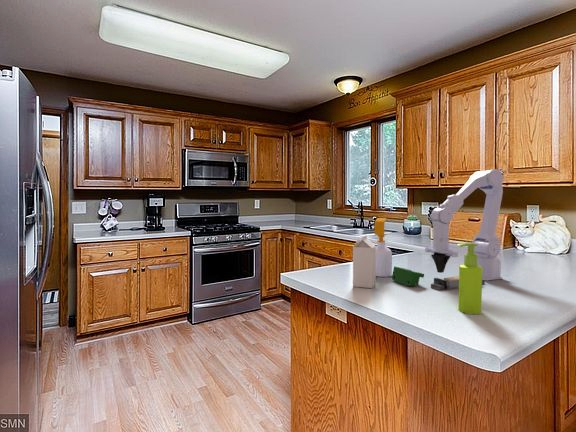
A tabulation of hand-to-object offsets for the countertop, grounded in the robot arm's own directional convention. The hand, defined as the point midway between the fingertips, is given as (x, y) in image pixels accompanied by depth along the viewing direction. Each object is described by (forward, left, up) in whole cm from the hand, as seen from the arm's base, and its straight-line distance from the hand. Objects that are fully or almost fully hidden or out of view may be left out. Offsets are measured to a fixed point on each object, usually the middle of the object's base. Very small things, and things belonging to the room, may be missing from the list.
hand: (440, 272), depth 134 cm
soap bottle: (+15, -18, -4) cm, 24 cm away
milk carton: (+32, -6, -4) cm, 33 cm away
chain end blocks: (0, +8, -3) cm, 9 cm away
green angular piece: (+15, -2, -4) cm, 15 cm away
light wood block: (0, +8, -4) cm, 9 cm away
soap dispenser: (+21, +30, -4) cm, 37 cm away
